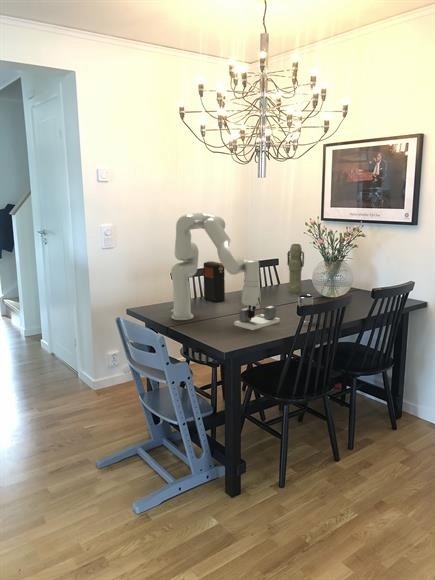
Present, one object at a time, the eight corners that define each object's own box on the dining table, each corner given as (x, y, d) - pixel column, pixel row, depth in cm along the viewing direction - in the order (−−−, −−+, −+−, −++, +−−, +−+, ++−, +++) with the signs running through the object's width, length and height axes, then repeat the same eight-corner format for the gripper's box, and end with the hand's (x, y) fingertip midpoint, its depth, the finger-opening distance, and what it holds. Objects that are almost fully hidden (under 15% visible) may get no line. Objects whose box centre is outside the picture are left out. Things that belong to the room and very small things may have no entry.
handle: (264, 318, 252) (264, 307, 251) (270, 316, 256) (270, 305, 254) (269, 319, 249) (269, 308, 248) (275, 317, 253) (275, 306, 252)
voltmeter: (226, 301, 304) (226, 263, 299) (215, 303, 299) (215, 264, 294) (213, 297, 317) (212, 260, 311) (202, 298, 312) (201, 261, 307)
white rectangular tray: (234, 325, 249) (234, 321, 248) (261, 317, 263) (261, 313, 263) (252, 330, 239) (252, 326, 239) (279, 322, 254) (279, 318, 253)
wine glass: (314, 324, 249) (315, 297, 246) (301, 325, 246) (302, 298, 243) (308, 320, 256) (308, 294, 253) (294, 321, 254) (295, 295, 251)
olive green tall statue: (288, 292, 328) (289, 243, 320) (305, 294, 322) (306, 243, 315) (284, 295, 320) (285, 244, 313) (300, 296, 314) (302, 245, 307)
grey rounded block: (239, 320, 248) (239, 309, 247) (245, 318, 251) (245, 307, 250) (244, 322, 245) (244, 310, 244) (251, 320, 249) (251, 309, 247)
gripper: (236, 282, 244) (236, 316, 247) (257, 286, 233) (257, 321, 237) (246, 280, 249) (246, 313, 252) (267, 284, 238) (266, 318, 242)
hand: (251, 317), depth 245 cm, fingers closed
